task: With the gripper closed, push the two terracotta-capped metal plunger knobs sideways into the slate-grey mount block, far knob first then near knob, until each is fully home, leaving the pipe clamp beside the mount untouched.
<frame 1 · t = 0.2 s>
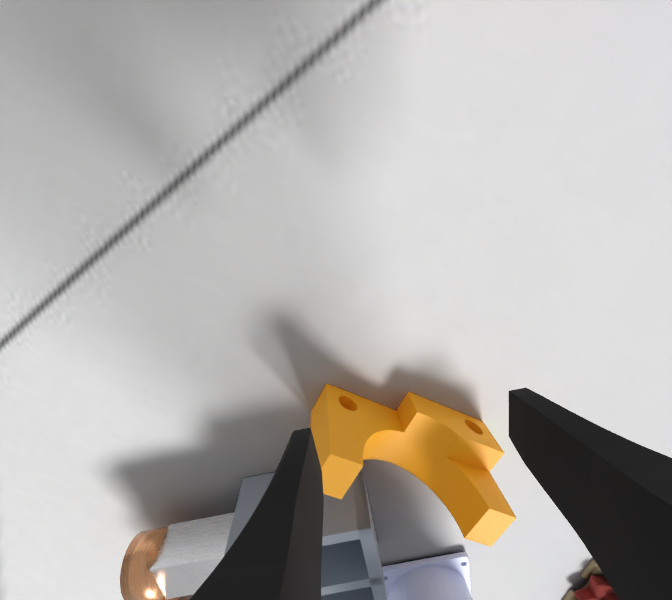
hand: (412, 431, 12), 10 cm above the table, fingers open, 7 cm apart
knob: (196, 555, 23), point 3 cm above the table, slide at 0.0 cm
mount: (314, 513, 27), on the table
pipe clamp: (397, 413, 24), on the table
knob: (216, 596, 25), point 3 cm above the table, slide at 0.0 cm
gear puzzle: (660, 551, 32), on the table
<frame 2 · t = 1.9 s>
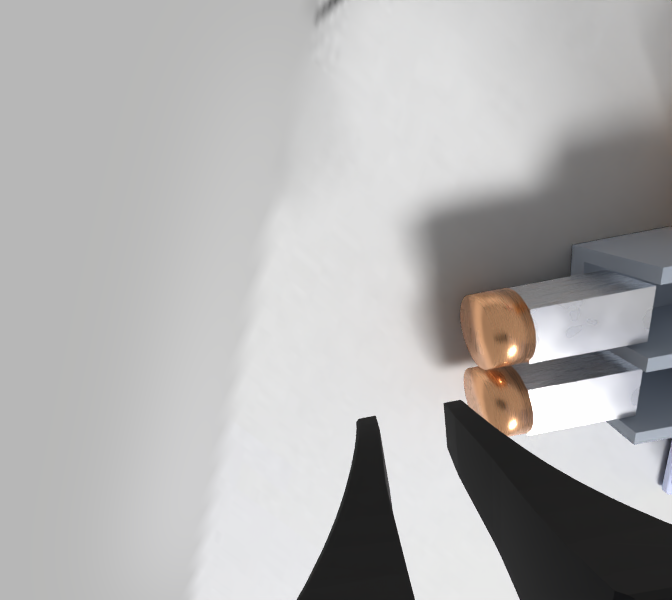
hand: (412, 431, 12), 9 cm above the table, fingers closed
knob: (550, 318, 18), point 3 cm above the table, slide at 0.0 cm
mount: (636, 307, 21), on the table
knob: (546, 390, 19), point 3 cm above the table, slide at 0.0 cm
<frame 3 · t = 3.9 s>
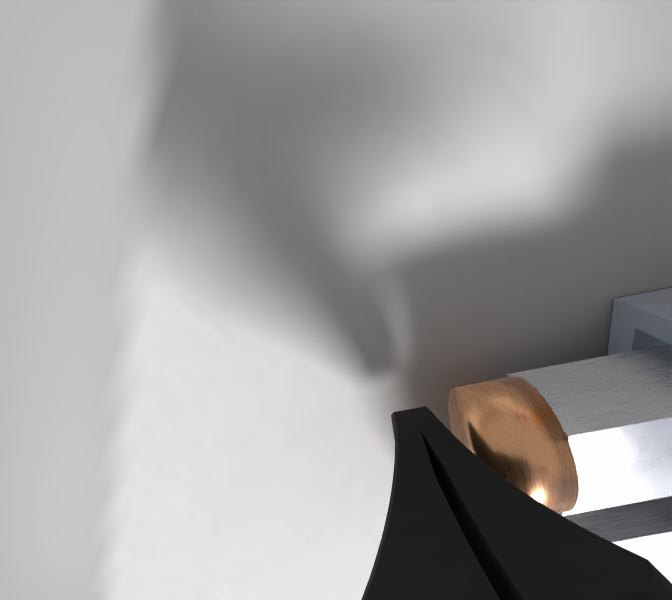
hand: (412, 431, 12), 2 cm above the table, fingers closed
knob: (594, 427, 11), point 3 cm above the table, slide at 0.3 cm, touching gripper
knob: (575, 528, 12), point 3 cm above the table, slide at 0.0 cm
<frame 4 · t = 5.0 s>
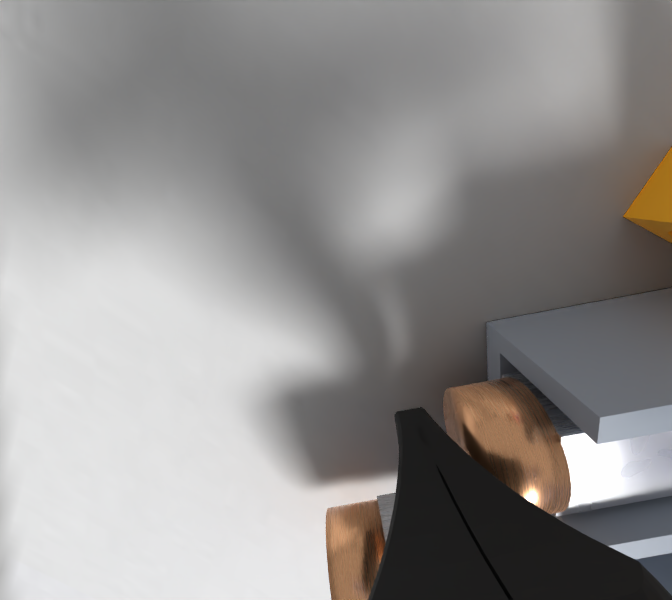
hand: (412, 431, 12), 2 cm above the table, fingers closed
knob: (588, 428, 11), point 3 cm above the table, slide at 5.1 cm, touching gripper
mount: (590, 406, 15), on the table
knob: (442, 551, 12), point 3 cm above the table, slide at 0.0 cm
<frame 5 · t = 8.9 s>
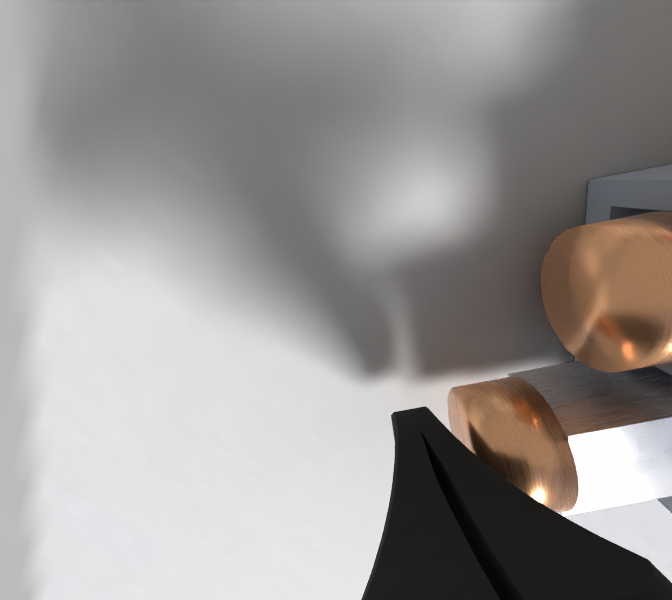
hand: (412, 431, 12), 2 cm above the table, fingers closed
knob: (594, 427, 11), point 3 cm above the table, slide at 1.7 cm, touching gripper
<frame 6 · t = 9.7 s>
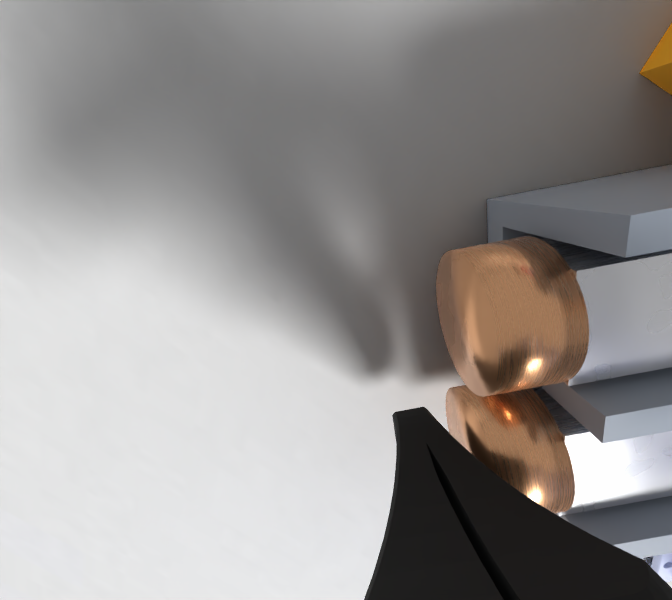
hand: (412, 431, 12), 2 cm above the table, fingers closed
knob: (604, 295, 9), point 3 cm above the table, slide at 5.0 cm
mount: (603, 309, 13), on the table
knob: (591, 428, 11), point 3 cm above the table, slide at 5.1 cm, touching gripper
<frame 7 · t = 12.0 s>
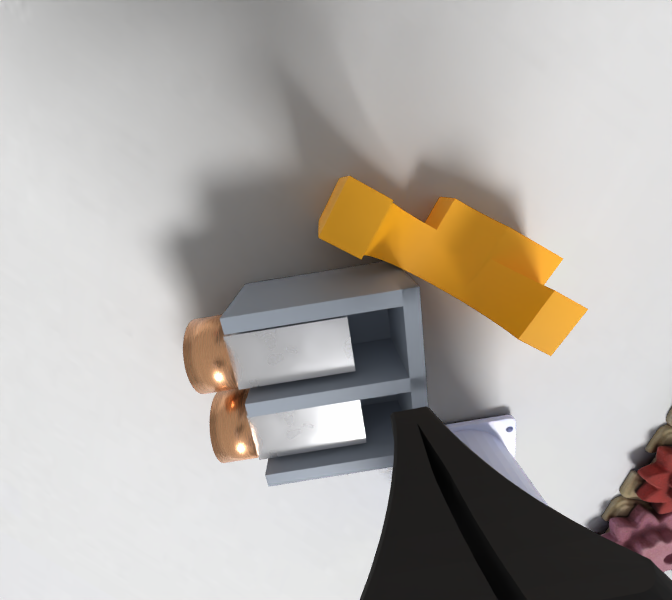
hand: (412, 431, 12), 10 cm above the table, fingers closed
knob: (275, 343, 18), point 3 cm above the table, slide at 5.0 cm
mount: (332, 345, 22), on the table
pipe clamp: (424, 233, 20), on the table
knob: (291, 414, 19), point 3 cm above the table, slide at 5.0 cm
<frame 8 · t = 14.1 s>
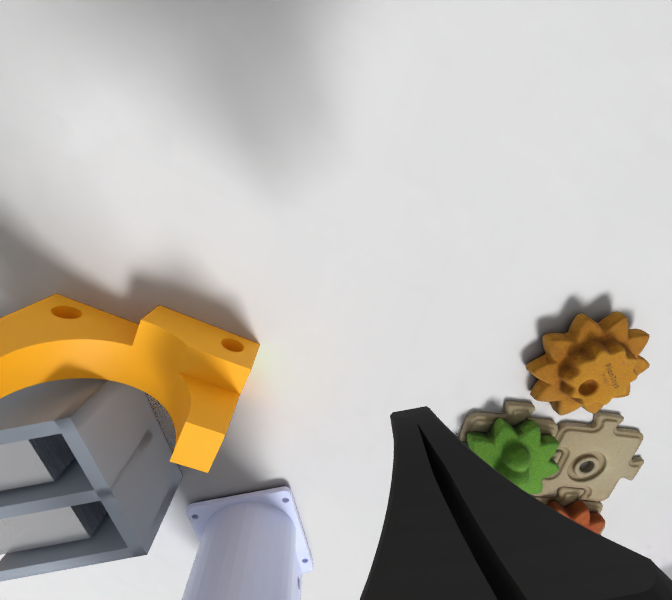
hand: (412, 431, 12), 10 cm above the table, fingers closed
mount: (94, 434, 23), on the table
pipe clamp: (159, 334, 21), on the table
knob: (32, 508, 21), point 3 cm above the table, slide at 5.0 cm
gear puzzle: (526, 478, 28), on the table
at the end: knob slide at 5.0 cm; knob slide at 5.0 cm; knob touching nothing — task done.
